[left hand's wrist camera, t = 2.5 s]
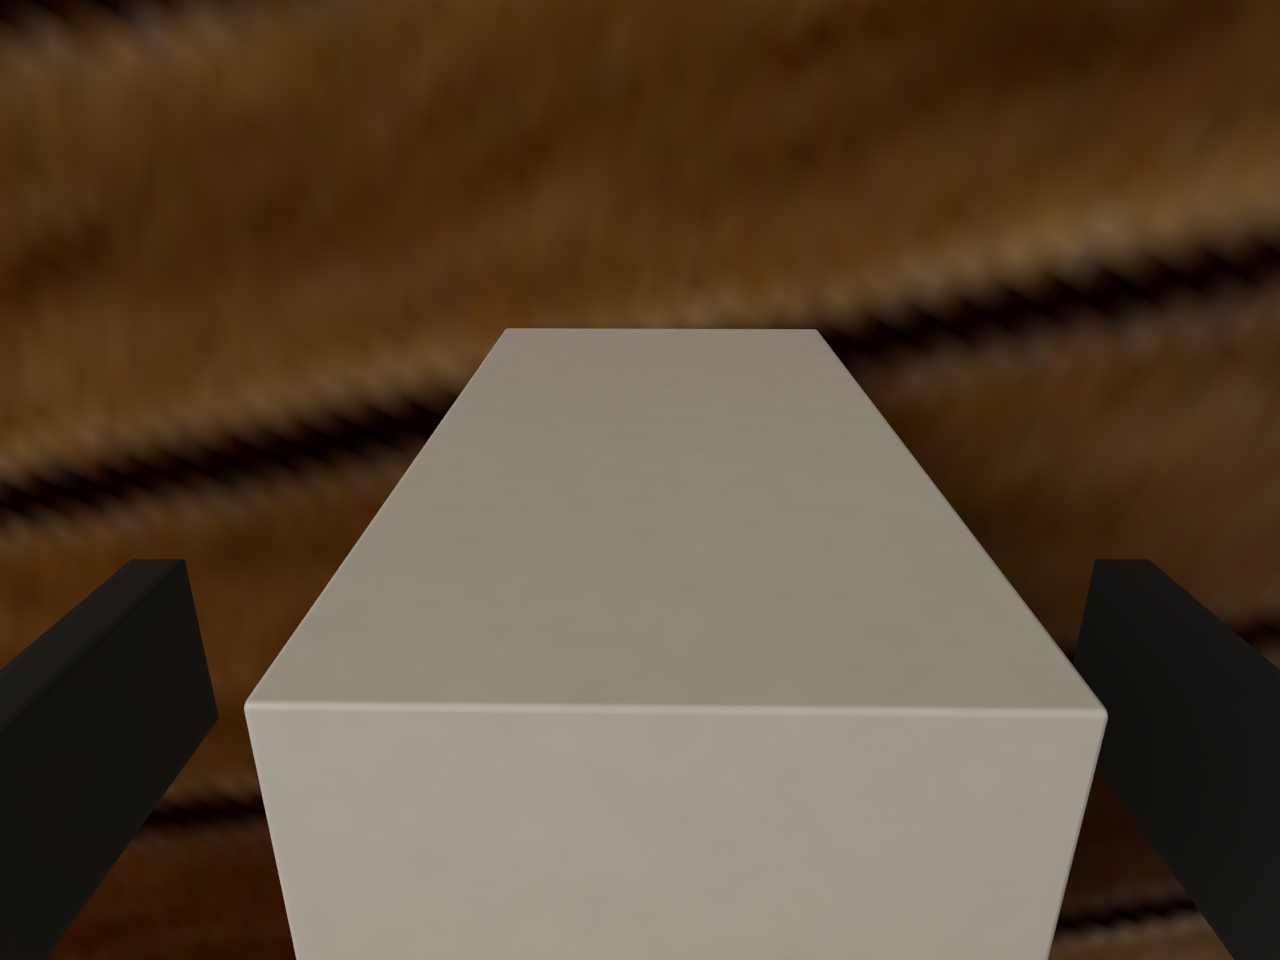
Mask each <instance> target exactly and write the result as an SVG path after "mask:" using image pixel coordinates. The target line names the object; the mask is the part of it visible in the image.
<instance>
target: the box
mask: <svg viewBox="0 0 1280 960" xmlns="http://www.w3.org/2000/svg"><path fill="white" fill-rule="evenodd" d="M244 711H245V716H246V720H247V725H248V730H249V735H250V739H251V744H252V749H253V754H254V758H255V763H256V768H257V773H258V778H259V782H260V787H261V792H262V797H263V801H264V806H265V811H266V816H267V820H268V825H269V830H270V835H271V839H272V844H273V849H274V854H275V859H276V863H277V868H278V873H279V878H280V882H281V887H282V892H283V897H284V901H285V906H286V911H287V916H288V920H289V925H290V930H291V935H292V939H293V944H294V949H295V954H296V959H297V960H1048V957H1049V953H1050V949H1051V945H1052V941H1053V937H1054V933H1055V929H1056V925H1057V921H1058V916H1059V912H1060V908H1061V904H1062V900H1063V896H1064V892H1065V888H1066V884H1067V880H1068V876H1069V872H1070V868H1071V864H1072V860H1073V856H1074V852H1075V848H1076V844H1077V840H1078V836H1079V832H1080V828H1081V824H1082V820H1083V816H1084V812H1085V808H1086V804H1087V800H1088V796H1089V792H1090V788H1091V784H1092V780H1093V776H1094V772H1095V768H1096V764H1097V760H1098V756H1099V752H1100V748H1101V744H1102V740H1103V736H1104V732H1105V728H1106V724H1107V720H1108V714H1107V710H1106V708H1105V707H1104V706H1103V704H1102V703H1101V702H1100V701H1099V699H1098V698H1097V697H1096V695H1095V694H1094V693H1093V691H1092V690H1091V689H1090V687H1089V686H1088V685H1087V683H1086V682H1085V681H1084V680H1083V678H1082V677H1081V676H1080V674H1079V673H1078V672H1077V670H1076V669H1075V668H1074V666H1073V665H1072V664H1071V662H1070V661H1069V660H1068V659H1067V657H1066V656H1065V655H1064V653H1063V652H1062V651H1061V649H1060V648H1059V647H1058V645H1057V644H1056V643H1055V641H1054V640H1053V639H1052V638H1051V636H1050V635H1049V634H1048V632H1047V631H1046V630H1045V628H1044V627H1043V626H1042V624H1041V623H1040V622H1039V621H1038V619H1037V618H1036V617H1035V615H1034V614H1033V613H1032V611H1031V610H1030V609H1029V607H1028V606H1027V605H1026V603H1025V602H1024V601H1023V600H1022V598H1021V597H1020V596H1019V594H1018V593H1017V592H1016V590H1015V589H1014V588H1013V586H1012V585H1011V584H1010V582H1009V581H1008V580H1007V579H1006V577H1005V576H1004V575H1003V573H1002V572H1001V571H1000V569H999V568H998V567H997V565H996V564H995V563H994V561H993V560H992V559H991V558H990V556H989V555H988V554H987V552H986V551H985V550H984V548H983V547H982V546H981V544H980V543H979V542H978V541H977V539H976V538H975V537H974V535H973V534H972V533H971V531H970V530H969V529H968V527H967V526H966V525H965V523H964V522H963V521H962V520H961V518H960V517H959V516H958V514H957V513H956V512H955V510H954V509H953V508H952V506H951V505H950V504H949V502H948V501H947V500H946V499H945V497H944V496H943V495H942V493H941V492H940V491H939V489H938V488H937V487H936V485H935V484H934V483H933V482H932V480H931V479H930V478H929V476H928V475H927V474H926V472H925V471H924V470H923V468H922V467H921V466H920V464H919V463H918V462H917V461H916V459H915V458H914V457H913V455H912V454H911V453H910V451H909V450H908V449H907V447H906V446H905V445H904V443H903V442H902V441H901V440H900V438H899V437H898V436H897V434H896V433H895V432H894V430H893V429H892V428H891V426H890V425H889V424H888V422H887V421H886V420H885V419H884V417H883V416H882V415H881V413H880V412H879V411H878V409H877V408H876V407H875V405H874V404H873V403H872V402H871V400H870V399H869V398H868V396H867V395H866V394H865V392H864V391H863V390H862V388H861V387H860V386H859V384H858V383H857V382H856V381H855V379H854V378H853V377H852V375H851V374H850V373H849V371H848V370H847V369H846V367H845V366H844V365H843V363H842V362H841V361H840V360H839V358H838V357H837V356H836V354H835V353H834V352H833V350H832V349H831V348H830V346H829V345H828V344H827V342H826V341H825V340H824V339H823V337H822V336H821V335H820V333H819V332H818V331H817V330H815V329H535V328H508V329H506V330H505V331H504V332H503V334H502V335H501V337H500V338H499V340H498V341H497V342H496V344H495V345H494V347H493V348H492V350H491V351H490V352H489V354H488V355H487V357H486V358H485V360H484V361H483V362H482V364H481V365H480V367H479V368H478V370H477V371H476V373H475V374H474V375H473V377H472V378H471V380H470V381H469V383H468V384H467V385H466V387H465V388H464V390H463V391H462V393H461V394H460V395H459V397H458V398H457V400H456V401H455V403H454V404H453V405H452V407H451V408H450V410H449V411H448V413H447V414H446V415H445V417H444V418H443V420H442V421H441V423H440V424H439V426H438V427H437V428H436V430H435V431H434V433H433V434H432V436H431V437H430V438H429V440H428V441H427V443H426V444H425V446H424V447H423V448H422V450H421V451H420V453H419V454H418V456H417V457H416V458H415V460H414V461H413V463H412V464H411V466H410V467H409V468H408V470H407V471H406V473H405V474H404V476H403V477H402V479H401V480H400V481H399V483H398V484H397V486H396V487H395V489H394V490H393V491H392V493H391V494H390V496H389V497H388V499H387V500H386V501H385V503H384V504H383V506H382V507H381V509H380V510H379V511H378V513H377V514H376V516H375V517H374V519H373V520H372V522H371V523H370V524H369V526H368V527H367V529H366V530H365V532H364V533H363V534H362V536H361V537H360V539H359V540H358V542H357V543H356V544H355V546H354V547H353V549H352V550H351V552H350V553H349V554H348V556H347V557H346V559H345V560H344V562H343V563H342V564H341V566H340V567H339V569H338V570H337V572H336V573H335V575H334V576H333V577H332V579H331V580H330V582H329V583H328V585H327V586H326V587H325V589H324V590H323V592H322V593H321V595H320V596H319V597H318V599H317V600H316V602H315V603H314V605H313V606H312V607H311V609H310V610H309V612H308V613H307V615H306V616H305V617H304V619H303V620H302V622H301V623H300V625H299V626H298V628H297V629H296V630H295V632H294V633H293V635H292V636H291V638H290V639H289V640H288V642H287V643H286V645H285V646H284V648H283V649H282V650H281V652H280V653H279V655H278V656H277V658H276V659H275V660H274V662H273V663H272V665H271V666H270V668H269V669H268V670H267V672H266V673H265V675H264V676H263V678H262V679H261V681H260V682H259V683H258V685H257V686H256V688H255V689H254V691H253V692H252V693H251V695H250V696H249V698H248V699H247V701H246V703H245V706H244Z"/></svg>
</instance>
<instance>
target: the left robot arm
mask: <svg viewBox="0 0 1280 960" xmlns="http://www.w3.org/2000/svg"><path fill="white" fill-rule="evenodd" d="M1073 666H1074V668H1075V669H1076V670H1077V672H1078V673H1079V674H1080V676H1081V677H1082V678H1083V680H1084V681H1085V682H1086V683H1087V685H1088V686H1089V687H1090V689H1091V690H1092V691H1093V693H1094V694H1095V695H1096V697H1097V698H1098V699H1099V701H1100V702H1101V703H1102V704H1103V706H1104V707H1105V708H1106V710H1107V714H1108V720H1107V724H1106V728H1105V732H1104V736H1103V740H1102V744H1101V748H1100V752H1099V756H1098V760H1097V764H1096V767H1097V768H1098V770H1099V771H1100V773H1101V774H1102V775H1103V777H1104V778H1105V780H1106V781H1107V782H1108V784H1109V785H1110V787H1111V788H1112V789H1113V791H1114V792H1115V793H1116V795H1117V796H1118V798H1119V799H1120V800H1121V802H1122V803H1123V805H1124V806H1125V807H1126V809H1127V810H1128V812H1129V813H1130V814H1131V816H1132V817H1133V819H1134V820H1135V821H1136V823H1137V824H1138V826H1139V827H1140V828H1141V830H1142V831H1143V833H1144V834H1145V835H1146V837H1147V838H1148V840H1149V841H1150V842H1151V844H1152V845H1153V847H1154V848H1155V849H1156V851H1157V852H1158V854H1159V855H1160V856H1161V858H1162V859H1163V860H1164V862H1165V863H1166V865H1167V866H1168V867H1169V869H1170V870H1171V872H1172V873H1173V874H1174V876H1175V877H1176V879H1177V880H1178V881H1179V883H1180V884H1181V886H1182V887H1183V888H1184V890H1185V891H1186V893H1187V894H1188V895H1189V897H1190V898H1191V900H1192V901H1193V902H1194V904H1195V905H1196V907H1197V908H1198V909H1199V911H1200V912H1201V914H1202V915H1203V916H1204V918H1205V919H1206V920H1207V922H1208V923H1209V925H1210V926H1211V927H1212V929H1213V930H1214V932H1215V933H1216V934H1217V936H1218V937H1219V939H1220V940H1221V941H1222V943H1223V944H1224V946H1225V947H1226V948H1227V950H1228V951H1229V953H1230V954H1231V955H1232V957H1233V958H1234V960H1280V670H1279V669H1278V668H1277V667H1275V666H1274V665H1273V664H1272V663H1271V662H1269V661H1268V660H1267V659H1266V658H1265V657H1263V656H1262V655H1261V654H1260V653H1259V652H1258V651H1256V650H1255V649H1254V648H1253V647H1252V646H1250V645H1249V644H1248V643H1247V642H1246V641H1245V640H1243V639H1242V638H1241V637H1240V636H1239V635H1237V634H1236V633H1235V632H1234V631H1233V630H1232V629H1230V628H1229V627H1228V626H1227V625H1226V624H1224V623H1223V622H1222V621H1221V620H1220V619H1219V618H1217V617H1216V616H1215V615H1214V614H1213V613H1211V612H1210V611H1209V610H1208V609H1207V608H1205V607H1204V606H1203V605H1202V604H1201V603H1200V602H1198V601H1197V600H1196V599H1195V598H1194V597H1192V596H1191V595H1190V594H1189V593H1188V592H1187V591H1185V590H1184V589H1183V588H1182V587H1181V586H1179V585H1178V584H1177V583H1176V582H1175V581H1174V580H1172V579H1171V578H1170V577H1169V576H1168V575H1166V574H1165V573H1164V572H1163V571H1162V570H1161V569H1159V568H1158V567H1157V566H1156V565H1155V564H1153V563H1152V562H1151V561H1150V560H1149V559H1095V564H1094V568H1093V573H1092V578H1091V582H1090V587H1089V592H1088V596H1087V601H1086V606H1085V610H1084V615H1083V620H1082V624H1081V629H1080V634H1079V638H1078V643H1077V647H1076V652H1075V657H1074V661H1073ZM218 718H219V717H218V713H217V708H216V703H215V699H214V694H213V689H212V685H211V680H210V675H209V671H208V666H207V661H206V657H205V652H204V647H203V643H202V638H201V634H200V629H199V624H198V620H197V615H196V610H195V606H194V601H193V596H192V592H191V587H190V582H189V578H188V573H187V568H186V564H185V559H131V560H130V561H129V562H128V563H127V564H125V565H124V566H123V567H122V568H121V569H119V570H118V571H117V572H116V573H115V574H114V575H112V576H111V577H110V578H109V579H108V580H106V581H105V582H104V583H103V584H102V585H101V586H99V587H98V588H97V589H96V590H95V591H93V592H92V593H91V594H90V595H89V596H88V597H86V598H85V599H84V600H83V601H82V602H80V603H79V604H78V605H77V606H76V607H75V608H73V609H72V610H71V611H70V612H69V613H67V614H66V615H65V616H64V617H63V618H61V619H60V620H59V621H58V622H57V623H56V624H54V625H53V626H52V627H51V628H50V629H48V630H47V631H46V632H45V633H44V634H43V635H41V636H40V637H39V638H38V639H37V640H35V641H34V642H33V643H32V644H31V645H30V646H28V647H27V648H26V649H25V650H24V651H22V652H21V653H20V654H19V655H18V656H17V657H15V658H14V659H13V660H12V661H11V662H9V663H8V664H7V665H6V666H5V667H3V668H2V669H1V670H0V960H46V958H47V957H48V955H49V954H50V953H51V951H52V950H53V948H54V947H55V946H56V944H57V943H58V941H59V940H60V939H61V937H62V936H63V934H64V933H65V932H66V930H67V929H68V927H69V926H70V925H71V923H72V922H73V920H74V919H75V918H76V916H77V915H78V914H79V912H80V911H81V909H82V908H83V907H84V905H85V904H86V902H87V901H88V900H89V898H90V897H91V895H92V894H93V893H94V891H95V890H96V888H97V887H98V886H99V884H100V883H101V881H102V880H103V879H104V877H105V876H106V874H107V873H108V872H109V870H110V869H111V867H112V866H113V865H114V863H115V862H116V860H117V859H118V858H119V856H120V855H121V853H122V852H123V851H124V849H125V848H126V847H127V845H128V844H129V842H130V841H131V840H132V838H133V837H134V835H135V834H136V833H137V831H138V830H139V828H140V827H141V826H142V824H143V823H144V821H145V820H146V819H147V817H148V816H149V814H150V813H151V812H152V810H153V809H154V807H155V806H156V805H157V803H158V802H159V800H160V799H161V798H162V796H163V795H164V793H165V792H166V791H167V789H168V788H169V786H170V785H171V784H172V782H173V781H174V780H175V778H176V777H177V775H178V774H179V773H180V771H181V770H182V768H183V767H184V766H185V764H186V763H187V761H188V760H189V759H190V757H191V756H192V754H193V753H194V752H195V750H196V749H197V747H198V746H199V745H200V743H201V742H202V740H203V739H204V738H205V736H206V735H207V733H208V732H209V731H210V729H211V728H212V726H213V725H214V724H215V722H216V721H217V720H218Z"/></svg>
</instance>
